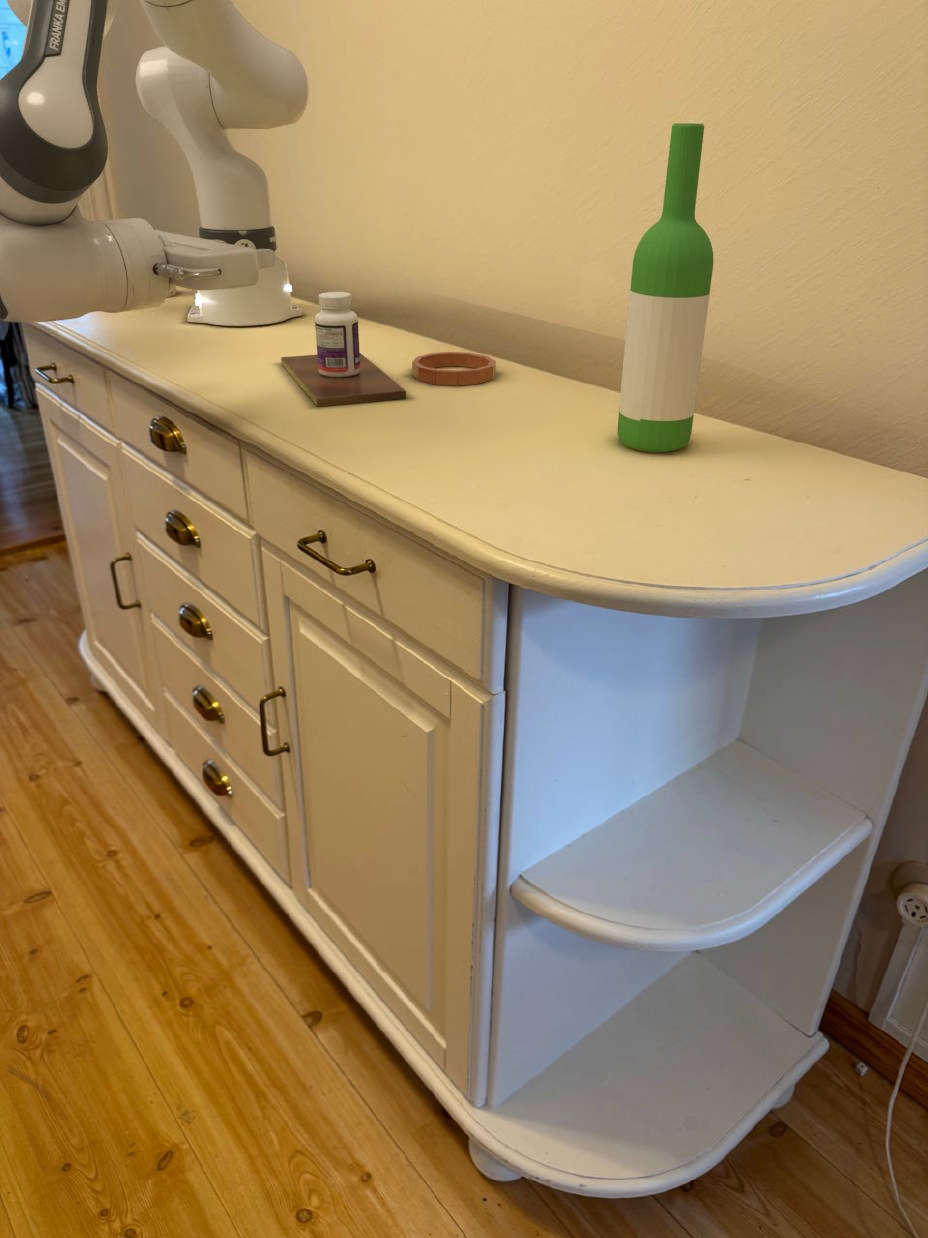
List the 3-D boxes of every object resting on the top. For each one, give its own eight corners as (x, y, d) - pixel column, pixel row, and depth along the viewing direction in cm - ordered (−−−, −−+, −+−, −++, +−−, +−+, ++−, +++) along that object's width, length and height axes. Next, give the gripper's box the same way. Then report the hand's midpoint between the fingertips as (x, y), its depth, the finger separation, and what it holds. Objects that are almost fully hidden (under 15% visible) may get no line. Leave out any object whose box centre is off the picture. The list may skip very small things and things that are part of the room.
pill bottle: (343, 365, 123) (339, 288, 118) (369, 373, 119) (365, 294, 114) (309, 372, 119) (304, 293, 114) (335, 380, 116) (330, 299, 111)
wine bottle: (684, 459, 94) (727, 124, 79) (608, 449, 96) (637, 122, 82) (694, 437, 100) (736, 123, 86) (623, 429, 103) (653, 122, 88)
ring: (402, 368, 126) (402, 355, 125) (476, 362, 129) (477, 349, 128) (428, 388, 117) (428, 374, 116) (507, 381, 120) (507, 367, 119)
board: (281, 364, 127) (280, 356, 127) (358, 358, 131) (358, 351, 130) (317, 406, 109) (316, 398, 109) (406, 398, 113) (406, 390, 112)
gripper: (179, 242, 88) (299, 231, 97) (84, 223, 101) (197, 214, 109) (188, 310, 91) (303, 294, 100) (94, 283, 104) (204, 270, 112)
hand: (247, 252), depth 105 cm, fingers open, 8 cm apart
